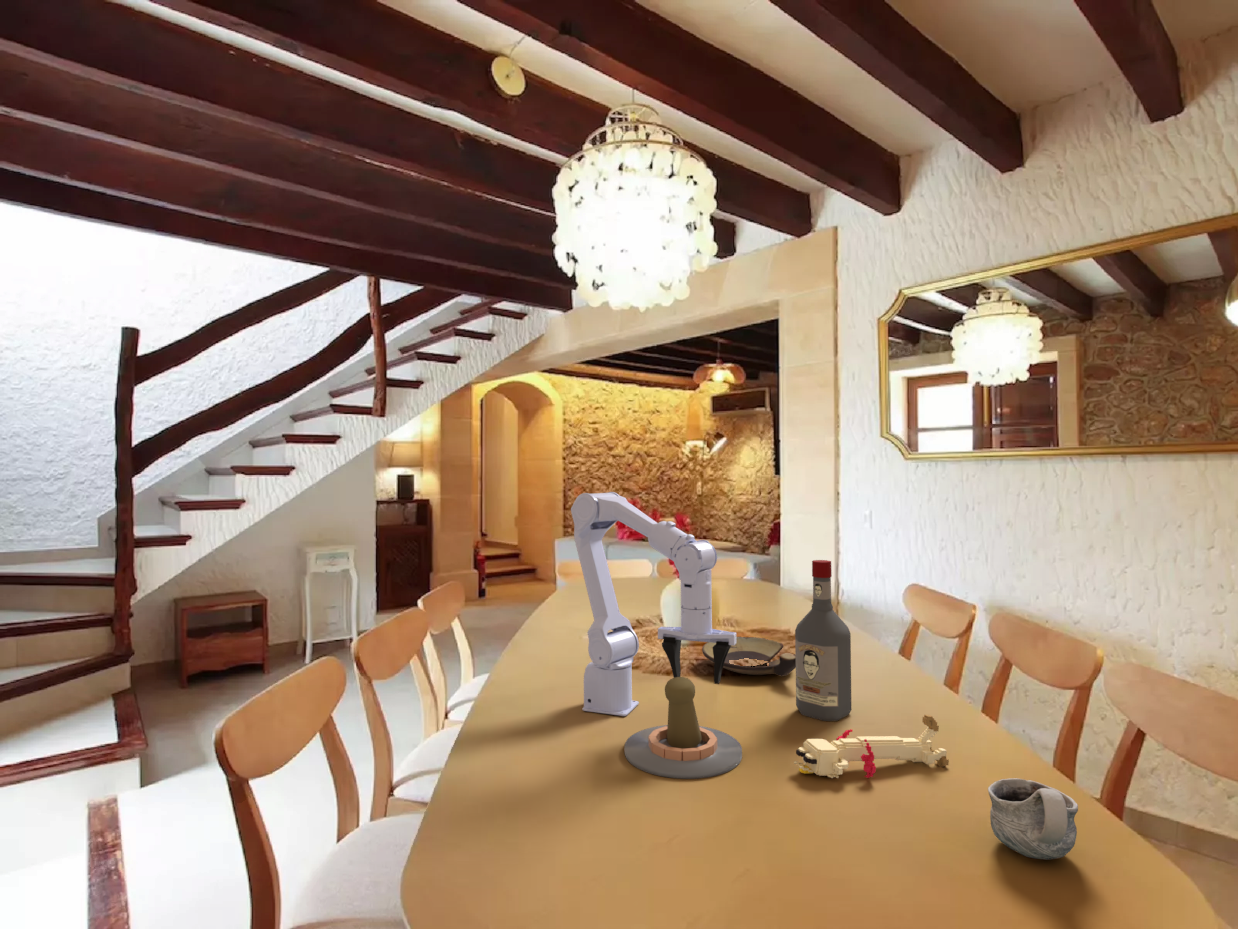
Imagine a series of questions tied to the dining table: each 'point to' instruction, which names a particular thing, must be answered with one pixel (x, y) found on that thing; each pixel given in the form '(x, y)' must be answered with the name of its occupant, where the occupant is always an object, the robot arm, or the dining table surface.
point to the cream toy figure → (868, 751)
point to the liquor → (823, 654)
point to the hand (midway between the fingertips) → (697, 680)
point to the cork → (682, 714)
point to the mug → (1033, 818)
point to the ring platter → (683, 754)
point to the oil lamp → (755, 656)
